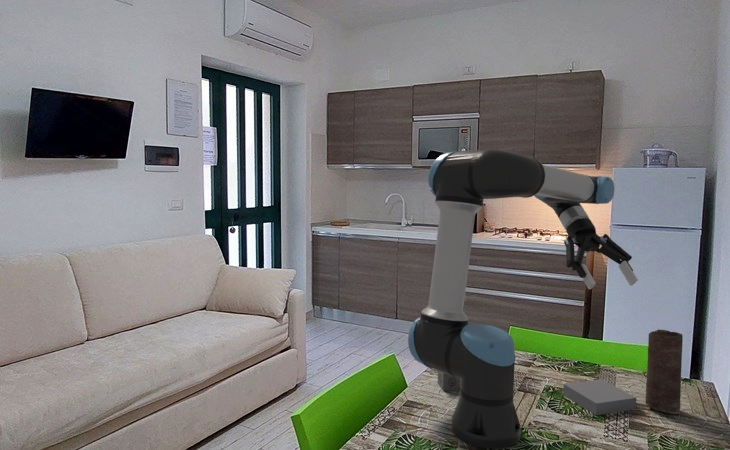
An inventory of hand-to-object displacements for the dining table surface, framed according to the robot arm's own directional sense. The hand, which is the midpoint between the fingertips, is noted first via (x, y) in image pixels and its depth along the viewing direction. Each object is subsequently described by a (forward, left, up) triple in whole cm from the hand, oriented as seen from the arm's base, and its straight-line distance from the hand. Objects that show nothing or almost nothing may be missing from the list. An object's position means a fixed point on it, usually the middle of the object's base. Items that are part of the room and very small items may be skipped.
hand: (613, 284), depth 132 cm
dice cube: (-43, +12, -29) cm, 53 cm away
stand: (-9, -7, -29) cm, 31 cm away
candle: (+3, -15, -29) cm, 33 cm away
